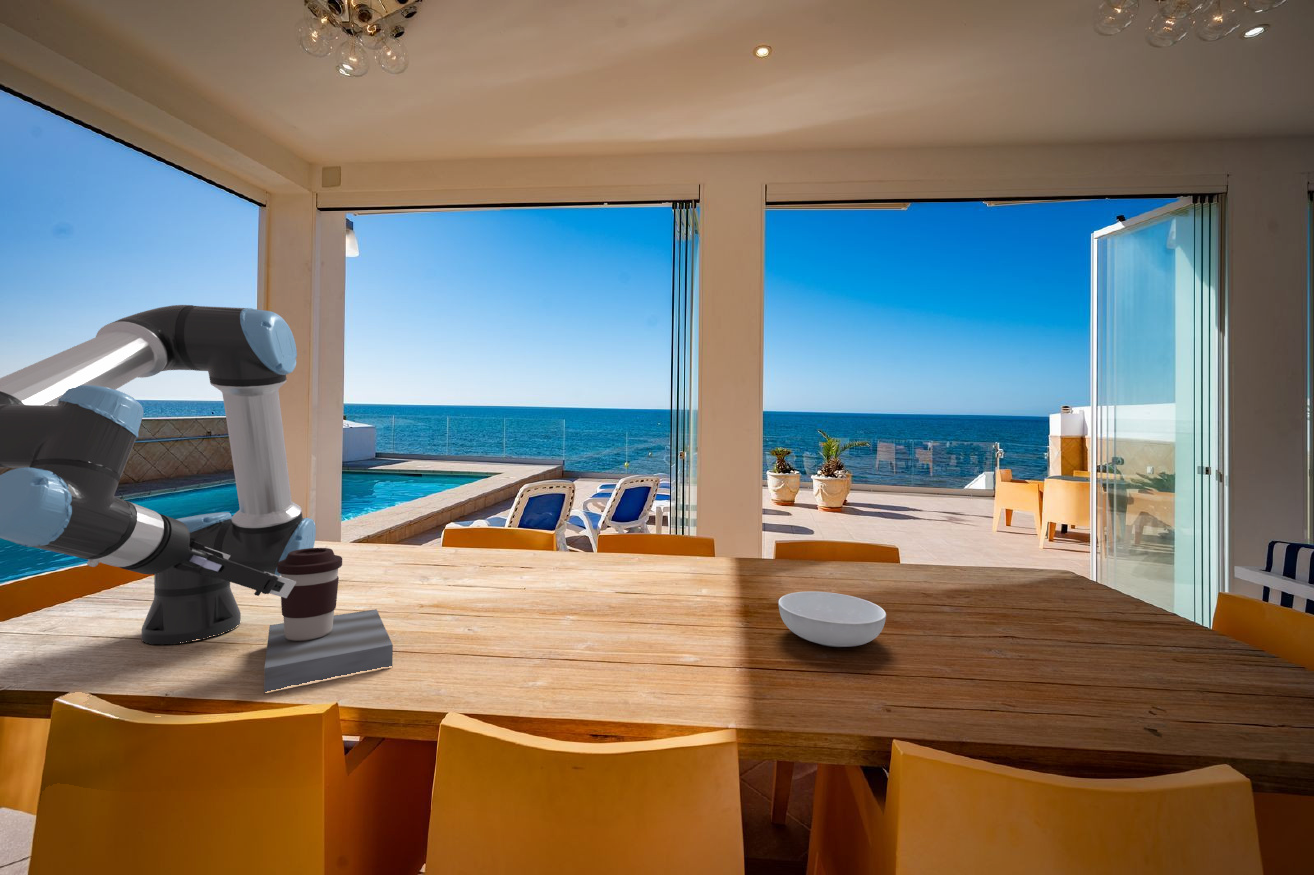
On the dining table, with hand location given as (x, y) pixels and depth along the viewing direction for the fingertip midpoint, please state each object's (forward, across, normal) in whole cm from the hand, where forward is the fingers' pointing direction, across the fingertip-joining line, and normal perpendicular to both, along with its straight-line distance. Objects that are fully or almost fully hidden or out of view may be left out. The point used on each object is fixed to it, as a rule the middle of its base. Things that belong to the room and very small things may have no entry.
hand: (256, 575), depth 89 cm
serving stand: (+16, +9, -9) cm, 20 cm away
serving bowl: (+34, +96, +26) cm, 105 cm away
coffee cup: (+14, +4, -6) cm, 16 cm away
